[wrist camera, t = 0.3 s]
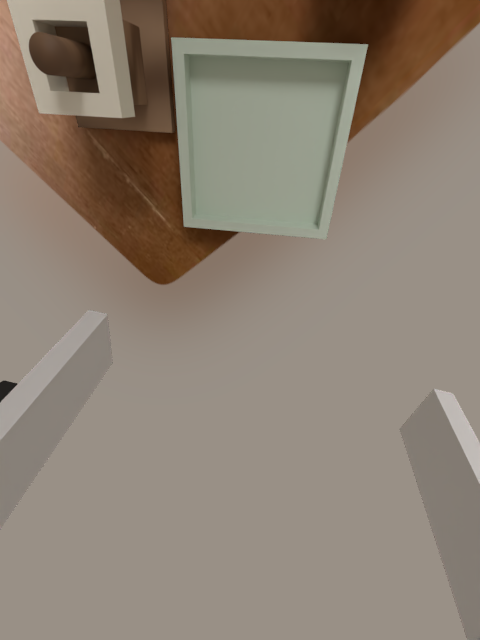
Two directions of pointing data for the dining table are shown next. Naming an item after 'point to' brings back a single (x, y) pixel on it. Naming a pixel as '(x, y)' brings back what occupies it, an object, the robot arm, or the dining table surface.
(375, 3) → the dining table surface
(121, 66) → the ring
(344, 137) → the tray
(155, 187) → the dining table surface
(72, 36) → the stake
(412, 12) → the dining table surface
